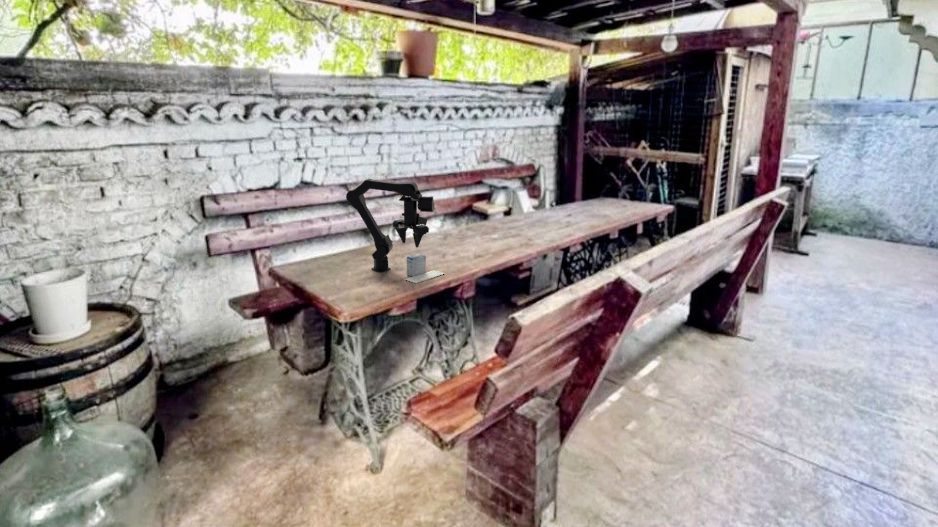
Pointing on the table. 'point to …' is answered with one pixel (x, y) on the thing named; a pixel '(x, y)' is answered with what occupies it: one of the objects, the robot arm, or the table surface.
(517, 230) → the table surface
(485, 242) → the table surface
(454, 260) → the table surface
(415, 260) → the medicine box
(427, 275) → the white rectangular board
